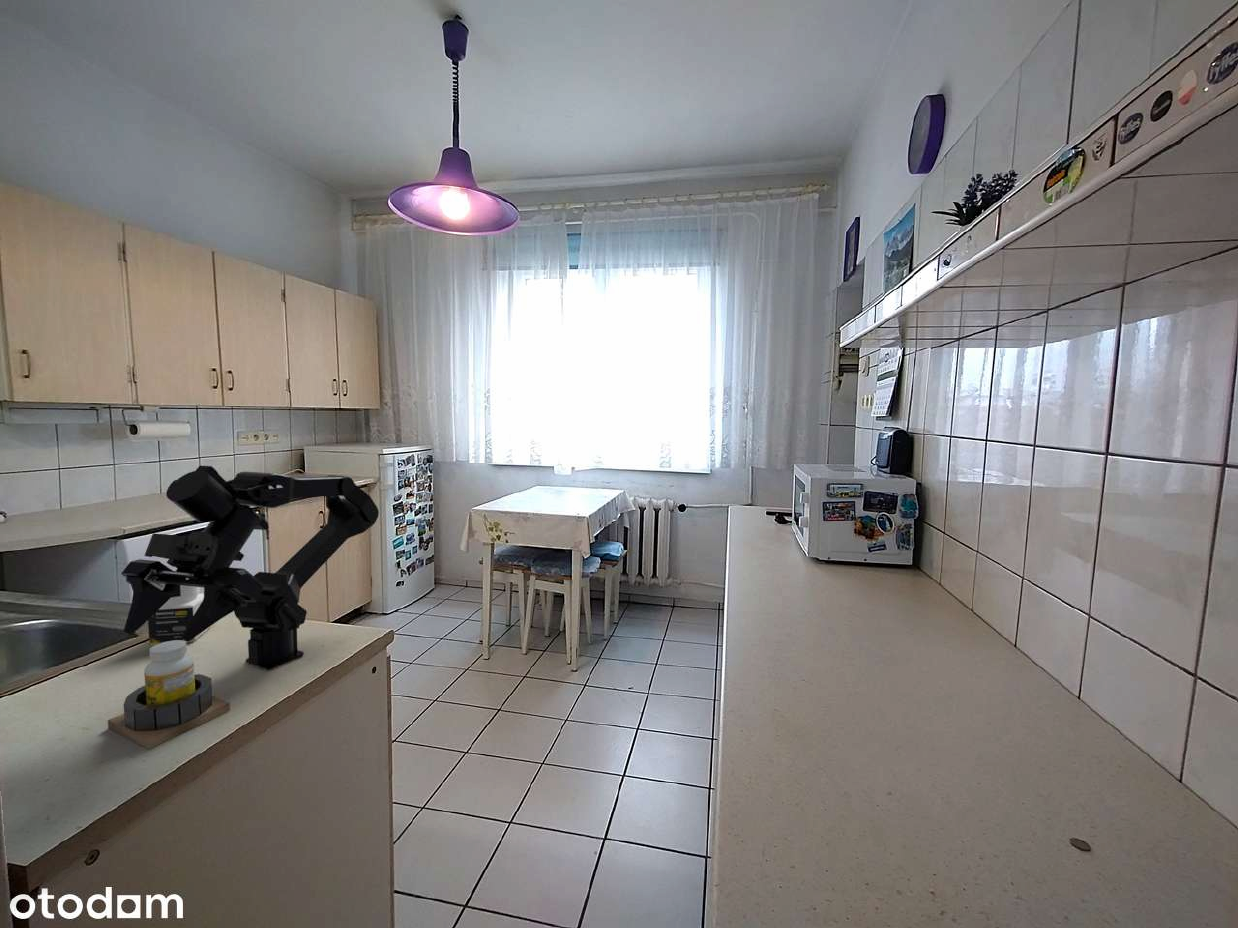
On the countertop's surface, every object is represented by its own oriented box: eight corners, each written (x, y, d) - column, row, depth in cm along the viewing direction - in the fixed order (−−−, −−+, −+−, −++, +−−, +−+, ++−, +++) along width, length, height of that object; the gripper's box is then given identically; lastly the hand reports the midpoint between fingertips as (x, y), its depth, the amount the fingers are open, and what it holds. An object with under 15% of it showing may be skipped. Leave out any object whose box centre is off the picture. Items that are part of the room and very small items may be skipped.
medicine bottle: (148, 645, 98) (144, 582, 97) (169, 629, 105) (165, 570, 104) (194, 642, 100) (191, 580, 99) (212, 627, 107) (209, 568, 105)
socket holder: (190, 693, 83) (189, 667, 83) (230, 710, 79) (228, 682, 79) (108, 728, 74) (106, 699, 73) (148, 748, 70) (146, 718, 70)
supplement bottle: (200, 709, 77) (197, 645, 76) (151, 726, 73) (147, 658, 72) (190, 695, 80) (187, 634, 79) (143, 710, 76) (139, 646, 75)
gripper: (131, 505, 79) (46, 605, 69) (244, 513, 76) (171, 618, 66) (184, 545, 87) (115, 638, 77) (287, 553, 84) (229, 652, 75)
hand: (155, 636), depth 74 cm, fingers open, 9 cm apart
